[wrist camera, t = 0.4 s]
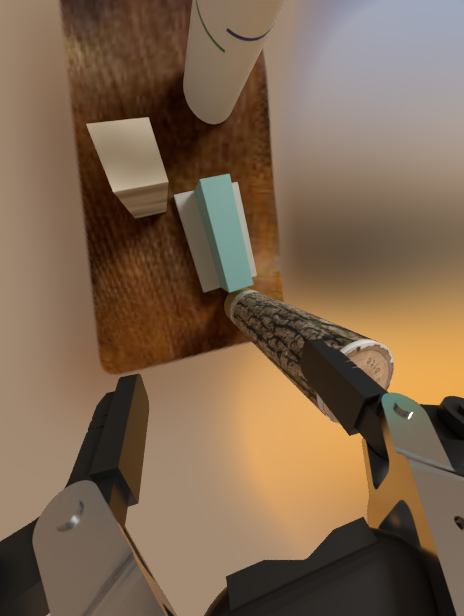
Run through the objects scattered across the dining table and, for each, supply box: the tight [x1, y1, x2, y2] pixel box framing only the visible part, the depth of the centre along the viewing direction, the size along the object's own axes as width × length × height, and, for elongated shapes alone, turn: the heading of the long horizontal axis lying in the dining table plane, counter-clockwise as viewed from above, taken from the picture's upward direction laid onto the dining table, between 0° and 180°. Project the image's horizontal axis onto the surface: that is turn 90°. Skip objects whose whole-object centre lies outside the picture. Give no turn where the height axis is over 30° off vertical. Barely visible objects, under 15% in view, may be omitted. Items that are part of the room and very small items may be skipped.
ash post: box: [86, 117, 168, 219], centre depth 22 cm, size 4×4×14 cm
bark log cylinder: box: [224, 287, 394, 424], centre depth 26 cm, size 7×7×25 cm
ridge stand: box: [174, 174, 257, 293], centre depth 31 cm, size 15×10×6 cm, turn 14°
